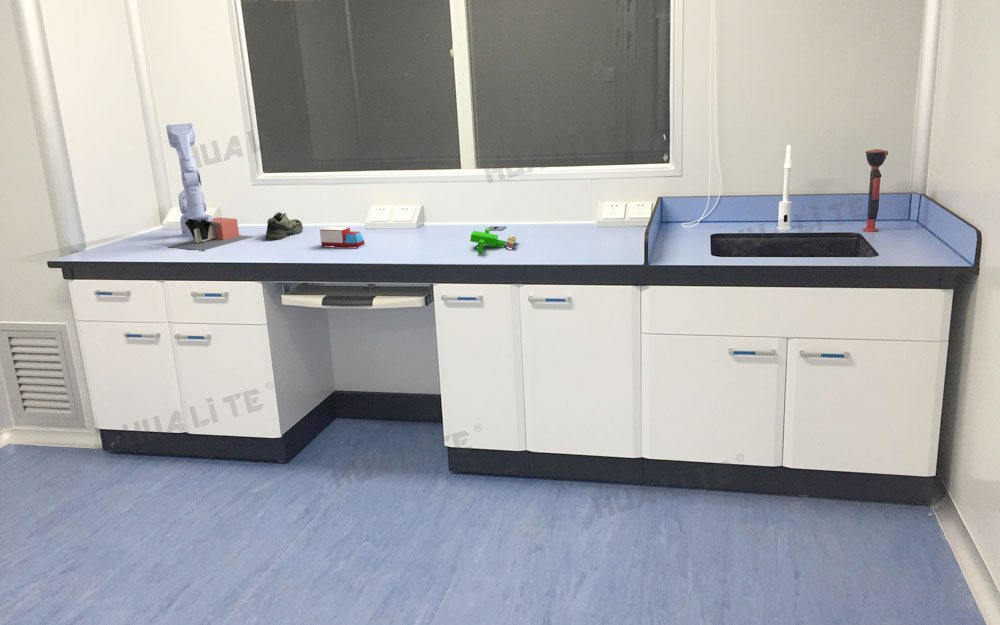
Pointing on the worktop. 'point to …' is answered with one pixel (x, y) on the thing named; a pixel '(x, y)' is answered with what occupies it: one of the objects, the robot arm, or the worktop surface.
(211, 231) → the cream rectangular block
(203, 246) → the mat
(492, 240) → the toy
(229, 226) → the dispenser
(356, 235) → the toy truck
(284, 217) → the hiking shoe
